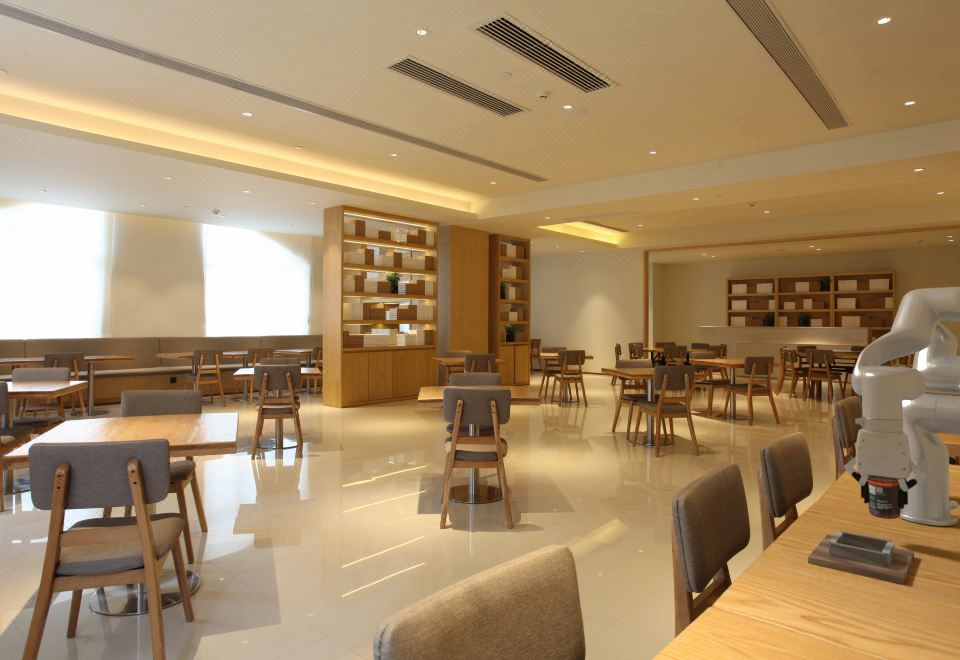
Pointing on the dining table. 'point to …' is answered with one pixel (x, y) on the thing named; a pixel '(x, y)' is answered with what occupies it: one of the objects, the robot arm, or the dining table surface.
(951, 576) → the dining table surface
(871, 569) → the bottle holder
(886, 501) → the supplement bottle
